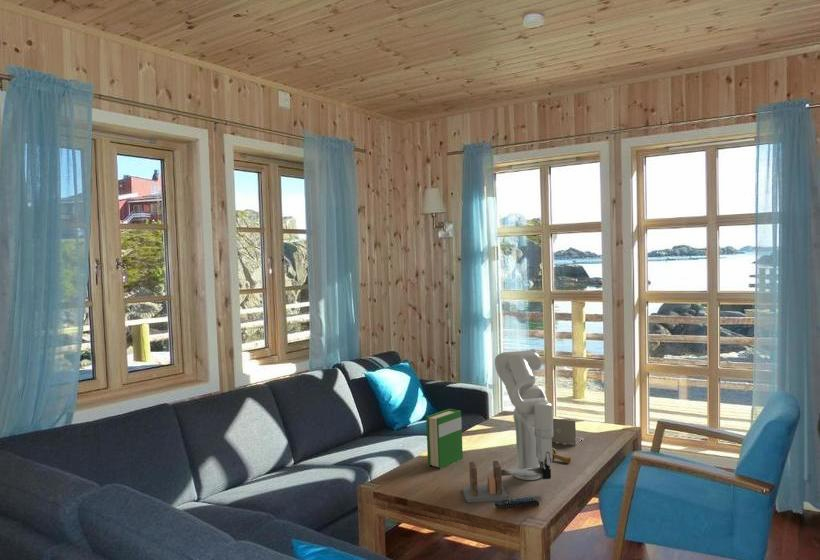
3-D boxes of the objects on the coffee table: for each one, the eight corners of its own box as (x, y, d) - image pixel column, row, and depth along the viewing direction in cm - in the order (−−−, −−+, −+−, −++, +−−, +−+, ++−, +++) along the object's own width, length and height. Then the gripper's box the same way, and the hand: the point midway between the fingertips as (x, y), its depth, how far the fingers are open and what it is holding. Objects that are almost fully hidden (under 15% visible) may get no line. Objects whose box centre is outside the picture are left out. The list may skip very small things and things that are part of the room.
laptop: (583, 440, 330) (583, 415, 330) (576, 446, 320) (575, 421, 320) (551, 435, 340) (550, 412, 340) (542, 441, 330) (541, 417, 329)
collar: (493, 488, 262) (492, 474, 262) (495, 493, 256) (495, 479, 256) (487, 488, 262) (487, 474, 262) (489, 493, 256) (489, 479, 256)
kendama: (573, 463, 298) (540, 451, 309) (573, 451, 296) (540, 440, 308) (565, 470, 292) (531, 458, 304) (565, 458, 290) (531, 446, 302)
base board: (502, 487, 266) (502, 484, 266) (508, 500, 252) (508, 496, 252) (462, 489, 266) (462, 486, 266) (466, 502, 252) (466, 499, 252)
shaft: (547, 475, 262) (547, 461, 261) (550, 479, 258) (549, 464, 257) (499, 478, 261) (498, 464, 261) (500, 481, 257) (500, 467, 257)
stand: (498, 487, 263) (497, 460, 263) (502, 494, 255) (501, 467, 255) (470, 488, 263) (469, 462, 262) (472, 495, 255) (471, 468, 254)
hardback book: (440, 469, 292) (438, 418, 292) (428, 466, 297) (426, 416, 297) (462, 459, 306) (461, 410, 305) (450, 456, 311) (449, 408, 310)
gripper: (530, 427, 267) (531, 469, 268) (539, 438, 250) (541, 483, 251) (548, 426, 267) (549, 468, 268) (558, 437, 251) (559, 482, 251)
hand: (545, 475), depth 259 cm, fingers closed on shaft, 4 cm apart
